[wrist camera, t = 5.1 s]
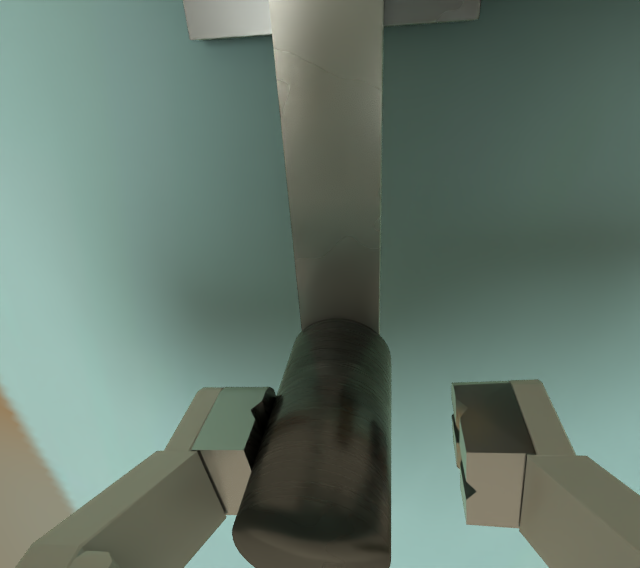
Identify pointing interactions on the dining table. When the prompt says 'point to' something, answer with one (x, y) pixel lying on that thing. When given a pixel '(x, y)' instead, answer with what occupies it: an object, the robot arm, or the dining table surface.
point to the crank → (328, 304)
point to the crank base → (254, 19)
